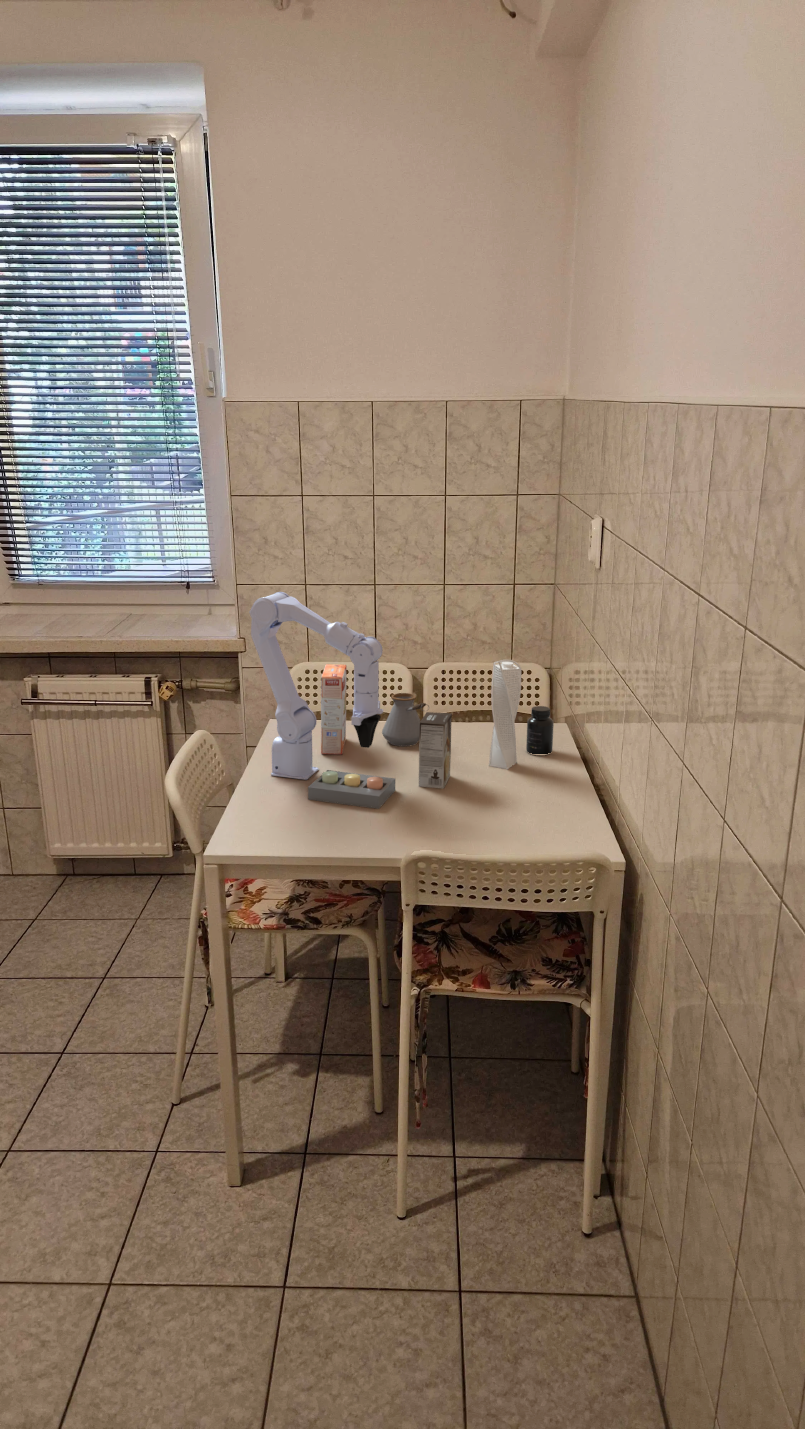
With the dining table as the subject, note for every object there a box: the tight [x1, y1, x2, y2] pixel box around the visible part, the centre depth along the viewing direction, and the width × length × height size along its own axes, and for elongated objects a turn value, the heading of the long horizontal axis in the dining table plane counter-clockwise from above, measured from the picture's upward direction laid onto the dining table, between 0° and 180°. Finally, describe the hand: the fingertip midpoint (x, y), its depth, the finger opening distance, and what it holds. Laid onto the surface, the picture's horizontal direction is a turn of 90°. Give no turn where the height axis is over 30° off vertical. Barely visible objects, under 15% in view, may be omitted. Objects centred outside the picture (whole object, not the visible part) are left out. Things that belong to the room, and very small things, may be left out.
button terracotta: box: [367, 776, 383, 790], centre depth 228 cm, size 4×4×3 cm
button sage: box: [321, 770, 338, 784], centre depth 231 cm, size 4×4×3 cm
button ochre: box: [344, 773, 360, 787], centre depth 230 cm, size 4×4×3 cm
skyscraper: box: [488, 658, 522, 770], centre depth 248 cm, size 8×8×28 cm
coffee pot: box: [381, 692, 430, 747], centre depth 262 cm, size 21×12×15 cm, turn 20°
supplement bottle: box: [525, 705, 554, 754], centre depth 260 cm, size 7×7×12 cm
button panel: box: [307, 769, 396, 810], centre depth 230 cm, size 17×12×3 cm
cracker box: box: [320, 663, 347, 756], centre depth 261 cm, size 14×6×21 cm, turn 179°
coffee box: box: [418, 711, 453, 789], centre depth 238 cm, size 9×6×16 cm
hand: (366, 746), depth 235 cm, fingers closed
